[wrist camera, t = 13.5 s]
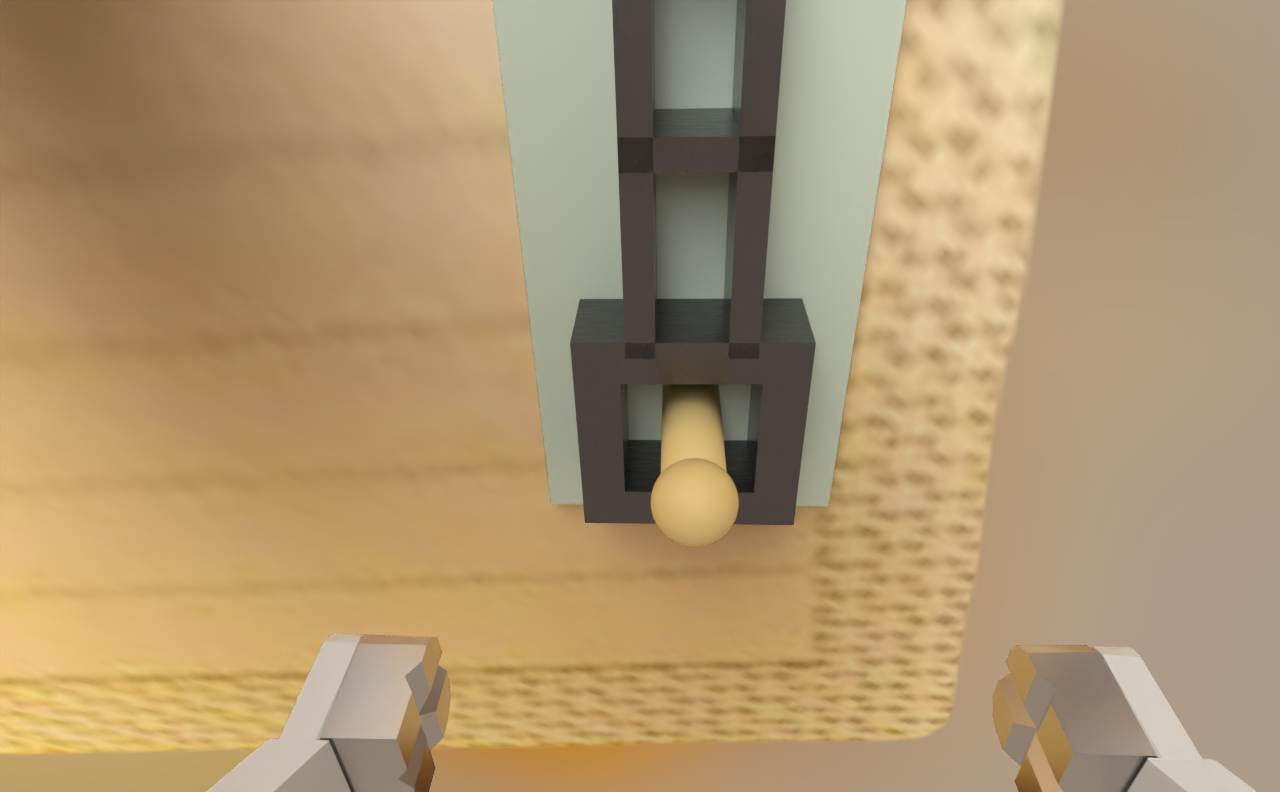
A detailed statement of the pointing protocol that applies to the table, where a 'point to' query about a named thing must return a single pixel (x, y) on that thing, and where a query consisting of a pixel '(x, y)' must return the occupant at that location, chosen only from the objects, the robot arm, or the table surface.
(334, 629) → the table surface
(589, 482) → the grey hollow frame
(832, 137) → the keeper board
